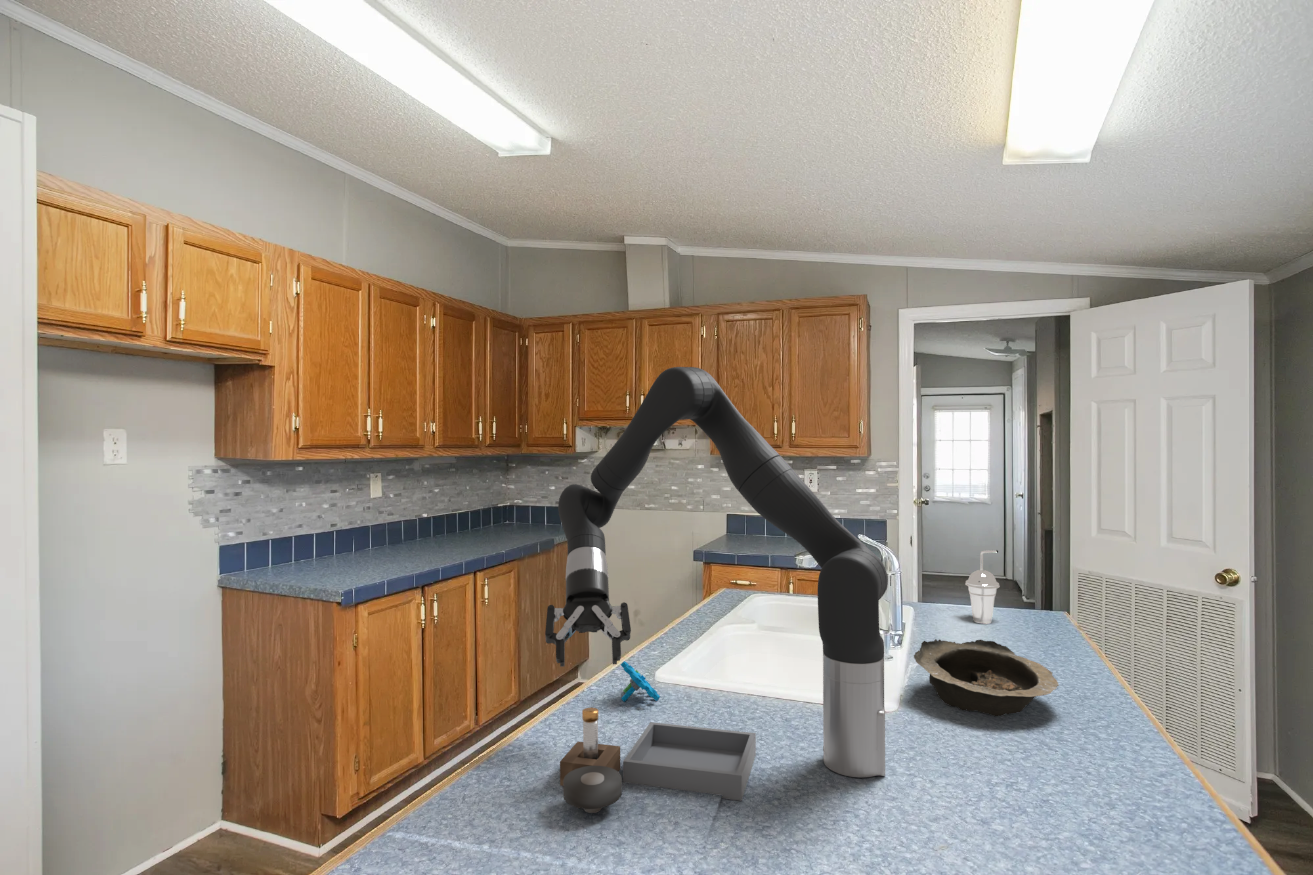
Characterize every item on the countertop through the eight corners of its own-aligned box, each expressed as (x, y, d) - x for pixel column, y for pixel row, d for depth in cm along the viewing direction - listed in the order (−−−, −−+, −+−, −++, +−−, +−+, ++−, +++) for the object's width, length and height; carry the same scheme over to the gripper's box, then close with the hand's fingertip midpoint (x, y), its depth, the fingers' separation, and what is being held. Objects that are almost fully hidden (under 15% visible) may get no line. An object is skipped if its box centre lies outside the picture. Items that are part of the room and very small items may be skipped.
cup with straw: (992, 617, 198) (992, 544, 197) (1005, 626, 189) (1005, 550, 188) (960, 617, 198) (960, 544, 198) (971, 626, 189) (971, 550, 189)
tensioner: (644, 775, 110) (644, 744, 110) (610, 831, 95) (610, 795, 94) (577, 766, 113) (577, 736, 113) (534, 819, 97) (534, 785, 97)
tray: (755, 755, 116) (755, 733, 116) (741, 800, 102) (741, 775, 102) (650, 743, 121) (650, 722, 121) (623, 785, 107) (623, 761, 107)
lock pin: (601, 774, 109) (600, 708, 109) (595, 781, 107) (595, 714, 107) (586, 772, 110) (585, 706, 110) (580, 779, 108) (579, 712, 107)
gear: (665, 700, 135) (626, 663, 135) (643, 725, 134) (604, 687, 135) (659, 687, 146) (624, 653, 146) (639, 710, 145) (603, 675, 145)
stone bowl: (919, 670, 155) (922, 628, 154) (1051, 697, 144) (1055, 652, 144) (904, 710, 132) (908, 660, 132) (1059, 745, 122) (1064, 691, 121)
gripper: (546, 568, 125) (543, 654, 114) (627, 565, 127) (633, 650, 116) (547, 591, 131) (545, 676, 120) (626, 588, 132) (631, 672, 121)
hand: (588, 663), depth 118 cm, fingers open, 8 cm apart
